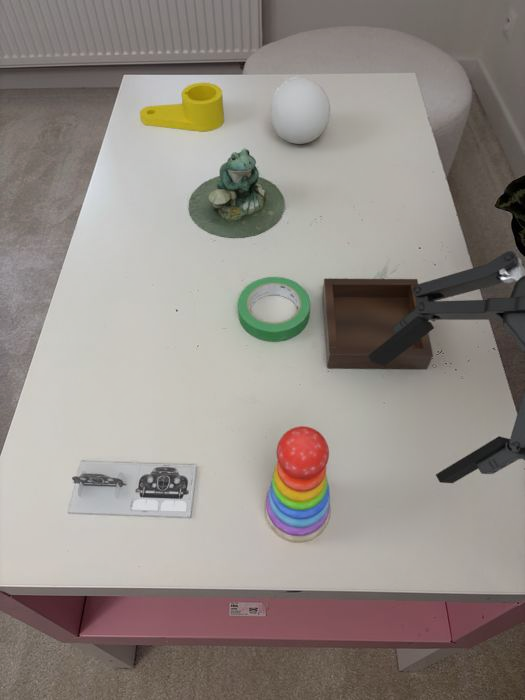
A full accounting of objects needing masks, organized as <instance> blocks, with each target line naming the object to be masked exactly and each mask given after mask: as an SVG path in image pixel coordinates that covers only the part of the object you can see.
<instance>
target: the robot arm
mask: <svg viewBox="0 0 525 700" xmlns="http://www.w3.org/2000/svg"><path fill="white" fill-rule="evenodd" d="M501 283H504V284H511V283H515V284H514V286H513V289H512V291H511V293H510V296H509V297H489V298H487V299H468V300H466V299H465V300H444V299H448V298H452V297H455V296H459V295H463V294H467V293H470V292H474V291H478V290H482V289H485V288H489V287H493V286H496V285H500V284H501ZM412 292H413V294H414V295H415V297H416V302H417V305H416V308H415V309H414V310H413V311H412V312H411V313H410V314H408V315H407V316H406V317H405V318H403V319H402V320H401V321H400V322H398V323H397V324H396V325H395V326H394V328H393V329H392V330H393V332H394V334H395V335H393V336H392V337H391V338H389V339H388V340H387V341H386V342H384V343H383V344H382V345H381V346H379V347H378V348H377V349H376V350H374V351H373V352H372V353H371V354H369V355H368V356H369V358H370V360H371V361H372V362H375V363H377V364H380V365H383V366H386V365H387V364H388V363H390V362H391V361H392V360H394V359H395V358H396V357H397V356H399V355H400V354H401V353H403V352H404V351H405V350H407V349H408V348H409V347H411V346H412V345H413V344H414V343H416V342H417V341H418V340H420V339H421V338H422V337H424V336H425V335H426V334H428V333H430V332H432V331H433V330H434V329H435V326H434V325H433V324H432V322H436V321H437V320H438V321H461V320H462V321H498V322H502V324H501V325H502V327H503V329H504V330H505V331H506V332H507V333H508V334H509V335H511V336H513V337H514V339H515V342H516V344H517V346H518V348H519V349H520V350H521V351H522V353H524V354H525V263H524V261H523V260H522V259H521V258H520V257H518V255H517V254H516V253H515V252H514V251H512V250H508V251H505V252H504V253H502V254H501V255H499V256H498V257H496V258H495V259H493V260H491V261H489V262H488V263H486V264H482V265H478V266H475V267H472V268H468V269H464V270H463V271H462V270H461V271H459V272H455V273H451V274H448V275H445V276H441V277H438V278H435V279H431V280H428V281H425V282H421V283H418V285H415V286H414V288H413V290H412ZM430 321H432V322H430ZM514 421H515V422H514V425H513V428H512V431H511V434H510V438H507V437H504V436H500V435H498V436H497V437H495V438H494V439H492V440H490V441H488V442H487V443H485V444H484V445H482V446H480V447H479V448H477V449H475V450H474V451H472V452H470V453H469V454H467V455H466V456H464V457H462V458H461V459H459V460H457V461H455V462H454V463H452V464H451V465H449V466H447V467H446V468H444V469H442V470H440V471H439V472H437V473H436V474H435V476H436V478H437V480H438V482H439V483H441V484H442V483H443V484H454V483H456V482H458V481H459V480H461V479H463V478H464V477H466V476H468V475H470V474H471V473H473V472H475V471H476V470H479V472H480V474H482V475H493V474H496V473H497V472H500V471H501V470H503V469H504V468H507V467H508V466H510V465H511V464H514V463H515V462H517V461H518V460H524V461H525V390H523V394H522V398H521V401H520V404H519V407H518V411H517V415H516V418H515V420H514Z"/></svg>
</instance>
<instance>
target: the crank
mask: <svg viewBox="0 0 525 700" xmlns="http://www.w3.org/2000/svg"><path fill="white" fill-rule="evenodd" d="M181 101H182V103H174V104H173V103H172V104H161V105H160V104H159V105H158V104H157V105H148V106H145V107H143V108H141V109H140V111H139V115H140V120H141V123H142V124H143V125H145V126H150V127H159V128H167V129H168V128H169V129H177V130H185V131H186V130H187V131H195V132H210V131H214V130H217V129H219V128H220V127H222V125H223V124H224V122H225V115H224V101H223V91H222V88H221V87H220V86H218V85H217V84H214V83H210V82H195V83H192V84H190V85H187V86H186V87H184V88H183V89H182V90H181Z"/></svg>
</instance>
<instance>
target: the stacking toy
mask: <svg viewBox="0 0 525 700" xmlns="http://www.w3.org/2000/svg"><path fill="white" fill-rule="evenodd" d="M329 457H330V449H329V445H328V443H327V441H326V439H325V437H324V436H323V434H322V433H320V431H318V430H317V429H315V428H312V427H310V426H306V425H305V426H303V425H301V426H295V427H292V428H290V429H289V430H287V431H286V432H285V433H283V434H282V436H281V438H280V439H279V440H278V443H277V446H276V458H277V462H276V464H275V466H274V469H273V474H272V476H271V477H272V478H271V483H270V485H269V489H268V492H267V493H266V498H265V502H264V516H265V519H266V521H267V524H268V525H269V527H270V529H271V530H272V531H273V532H274V533H275V535H276V536H278V537H279V538H281V539H282V540H285V541H286V542H291V543H295V544H297V543H298V544H301V543H307V542H310V541H313V540H315V539H317V538H318V537H320V536H321V534H322V533H323V532H324V531H325V530H326V528H327V526H328V524H329V522H330V519H331V514H332V513H331V512H332V507H331V495H330V494H331V493H330V486H329V482H328V477H327V464H328V463H329Z"/></svg>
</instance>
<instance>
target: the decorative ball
mask: <svg viewBox="0 0 525 700" xmlns="http://www.w3.org/2000/svg"><path fill="white" fill-rule="evenodd" d="M269 117H270V122H271V125H272V127H273V129H274V131H275V132H276V134H277V135H278V136H279V137H280V138H281V139H282V140H285V141H287V142H288V143H290V144H294V145H295V144H296V145H303V144H307V143H310V142H313V141H314V140H316V139H317V138H319V137H320V136H321V135H322V134H323V133H324V131H325V129H326V128H327V126H328V123H329V121H330V117H331V103H330V99H329V96H328V93H327V91H326V90H325V89H324V88H323V86H322V85H321V84H320V83H318V82H317V81H315V80H314V79H312V78H308V77H303V76H291V77H289V78H286V79H285V80H284V81H283V83H282V84H280V85H279V86H278V87H277V88H276V90H274V93H273V94H272V97H271V101H270V106H269Z"/></svg>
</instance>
